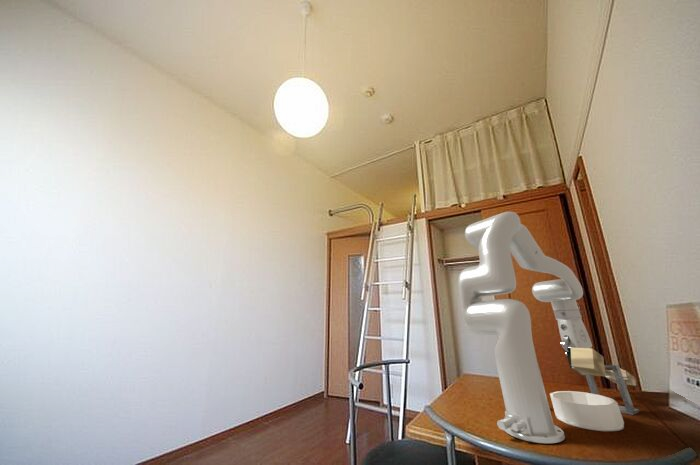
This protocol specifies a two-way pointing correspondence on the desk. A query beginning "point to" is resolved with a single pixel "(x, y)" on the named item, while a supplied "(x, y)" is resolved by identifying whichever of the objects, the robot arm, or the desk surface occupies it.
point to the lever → (595, 365)
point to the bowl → (587, 410)
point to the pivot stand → (622, 387)
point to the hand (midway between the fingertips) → (583, 366)
